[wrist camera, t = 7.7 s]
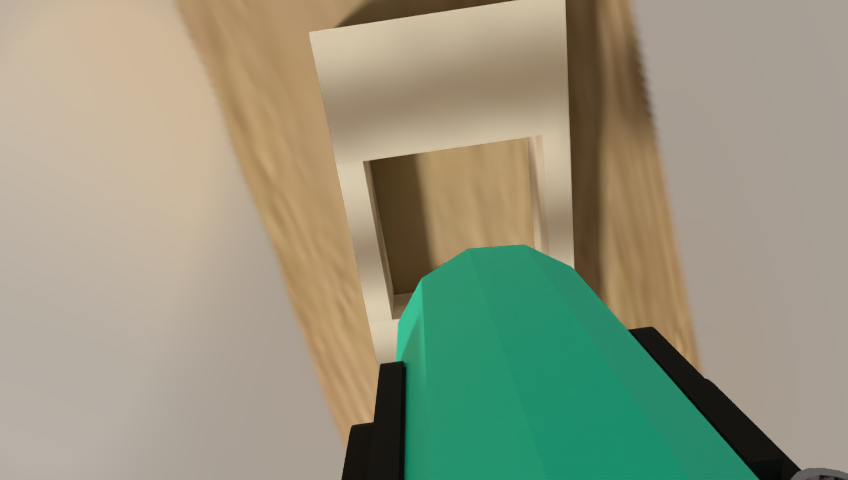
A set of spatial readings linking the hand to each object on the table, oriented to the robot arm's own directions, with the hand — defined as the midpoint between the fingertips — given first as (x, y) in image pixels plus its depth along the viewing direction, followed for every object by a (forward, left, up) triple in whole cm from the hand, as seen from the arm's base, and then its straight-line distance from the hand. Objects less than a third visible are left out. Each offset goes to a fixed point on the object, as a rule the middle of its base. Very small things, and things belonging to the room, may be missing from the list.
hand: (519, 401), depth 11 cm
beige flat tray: (0, 0, -15) cm, 15 cm away
